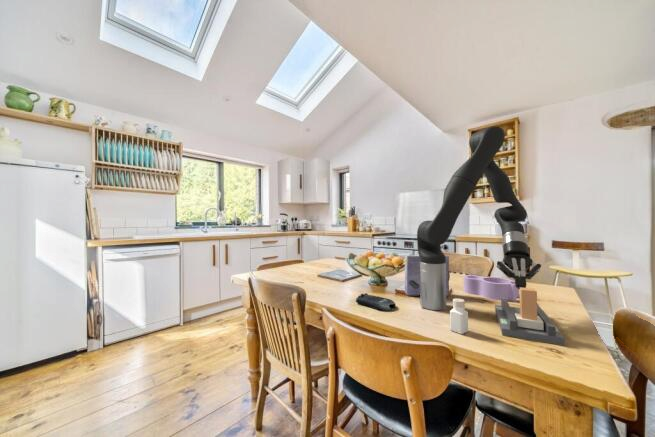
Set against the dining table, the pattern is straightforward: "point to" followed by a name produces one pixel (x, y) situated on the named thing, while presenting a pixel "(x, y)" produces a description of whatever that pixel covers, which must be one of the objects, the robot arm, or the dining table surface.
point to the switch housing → (510, 328)
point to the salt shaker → (458, 317)
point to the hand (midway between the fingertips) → (521, 288)
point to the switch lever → (528, 310)
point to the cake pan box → (418, 275)
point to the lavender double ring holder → (491, 287)
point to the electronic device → (375, 302)
